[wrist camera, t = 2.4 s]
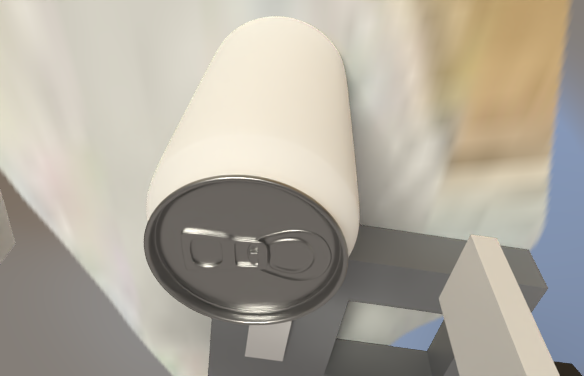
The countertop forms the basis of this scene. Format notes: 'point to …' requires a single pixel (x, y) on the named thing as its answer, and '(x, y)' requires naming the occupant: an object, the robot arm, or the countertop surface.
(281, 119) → the can
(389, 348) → the socket plate
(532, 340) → the robot arm
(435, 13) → the countertop surface
